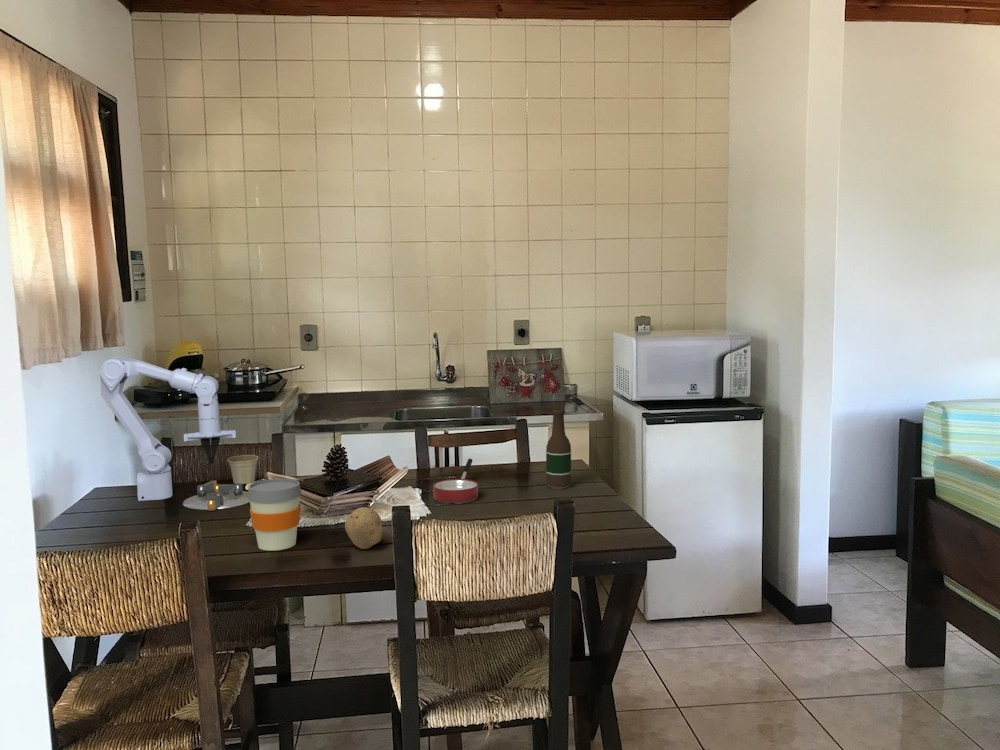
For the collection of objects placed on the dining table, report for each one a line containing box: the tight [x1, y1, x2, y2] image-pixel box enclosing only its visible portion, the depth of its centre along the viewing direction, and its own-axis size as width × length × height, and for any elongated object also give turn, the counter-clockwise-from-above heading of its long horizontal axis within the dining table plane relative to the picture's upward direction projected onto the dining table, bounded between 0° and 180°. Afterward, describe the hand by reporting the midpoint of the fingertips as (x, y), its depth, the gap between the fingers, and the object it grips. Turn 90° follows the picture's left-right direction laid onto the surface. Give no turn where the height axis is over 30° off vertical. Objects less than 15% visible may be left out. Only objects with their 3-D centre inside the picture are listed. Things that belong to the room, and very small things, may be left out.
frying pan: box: [432, 458, 479, 502], centre depth 252 cm, size 32×13×6 cm, turn 178°
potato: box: [344, 506, 383, 550], centre depth 200 cm, size 9×9×10 cm
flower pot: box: [226, 454, 259, 485], centre depth 262 cm, size 9×9×9 cm
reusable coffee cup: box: [247, 478, 302, 552], centre depth 203 cm, size 13×13×15 cm
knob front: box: [207, 492, 224, 512], centre depth 232 cm, size 8×2×3 cm, turn 0°
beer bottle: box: [545, 408, 572, 487], centre depth 254 cm, size 8×8×24 cm
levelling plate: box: [182, 490, 250, 510], centre depth 241 cm, size 20×20×2 cm
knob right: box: [214, 483, 243, 495], centre depth 245 cm, size 8×2×3 cm, turn 87°
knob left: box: [196, 480, 218, 497], centre depth 247 cm, size 8×2×3 cm, turn 168°
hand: (211, 463), depth 247 cm, fingers closed
